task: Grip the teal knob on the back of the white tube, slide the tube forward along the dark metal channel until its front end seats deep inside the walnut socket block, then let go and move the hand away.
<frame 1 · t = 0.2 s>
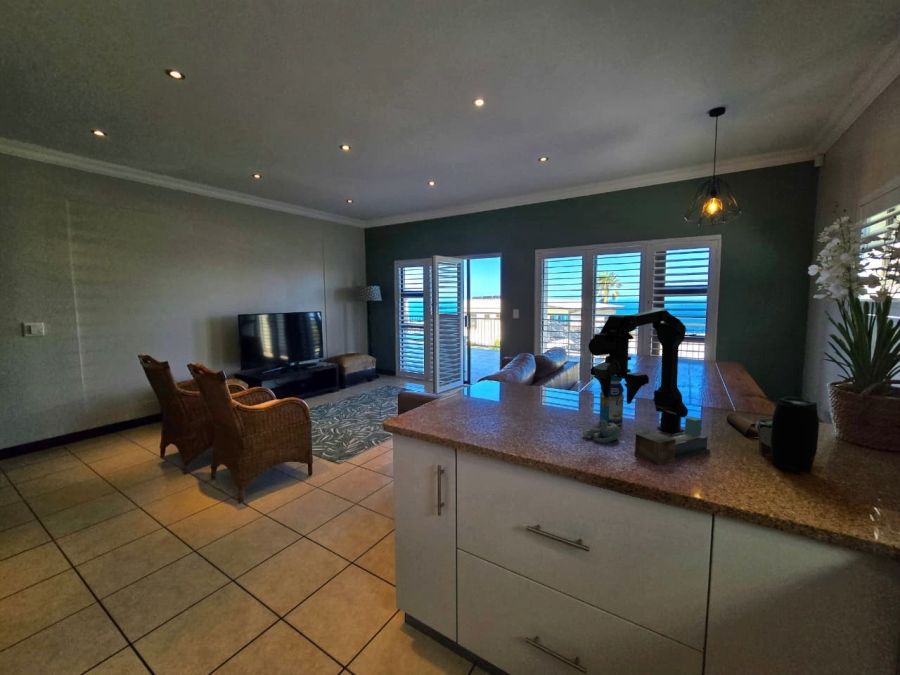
hand: (617, 400, 118), 14 cm above the counter, tool pointing down, fingers open, 9 cm apart
sleeve channel: (680, 451, 112), on the counter
portable speaker: (790, 469, 100), on the counter
sunglasses case: (748, 431, 131), on the counter
socket block: (654, 457, 108), on the counter
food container: (774, 453, 111), on the counter
beverage bottle: (610, 423, 140), on the counter
telescoping tube: (682, 433, 112), point 6 cm above the counter, slide at 0.0 cm
stuffed animal: (601, 439, 123), on the counter
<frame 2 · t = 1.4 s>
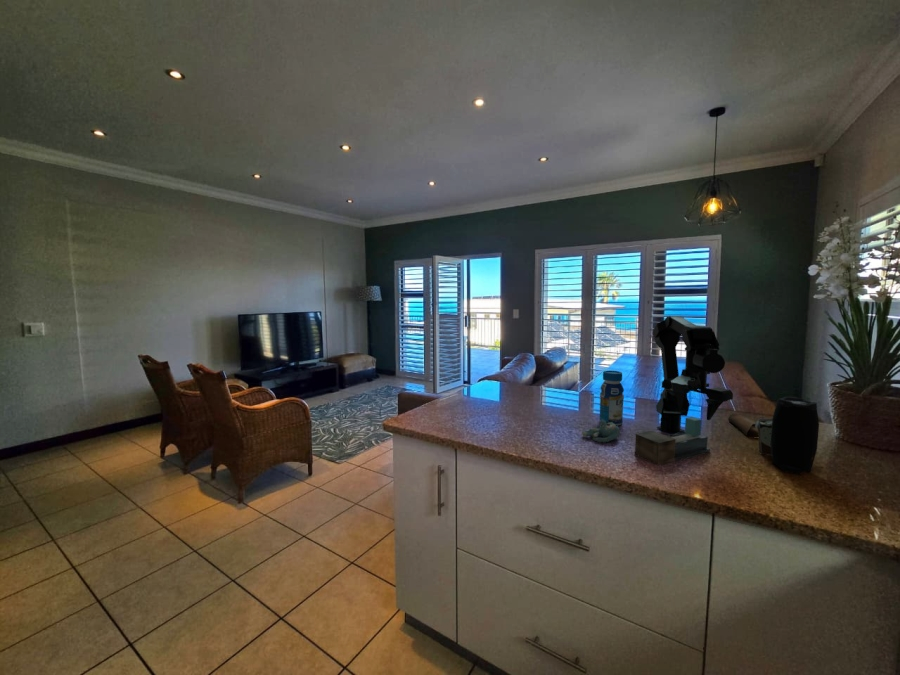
hand: (693, 415, 113), 11 cm above the counter, tool pointing down, fingers open, 9 cm apart
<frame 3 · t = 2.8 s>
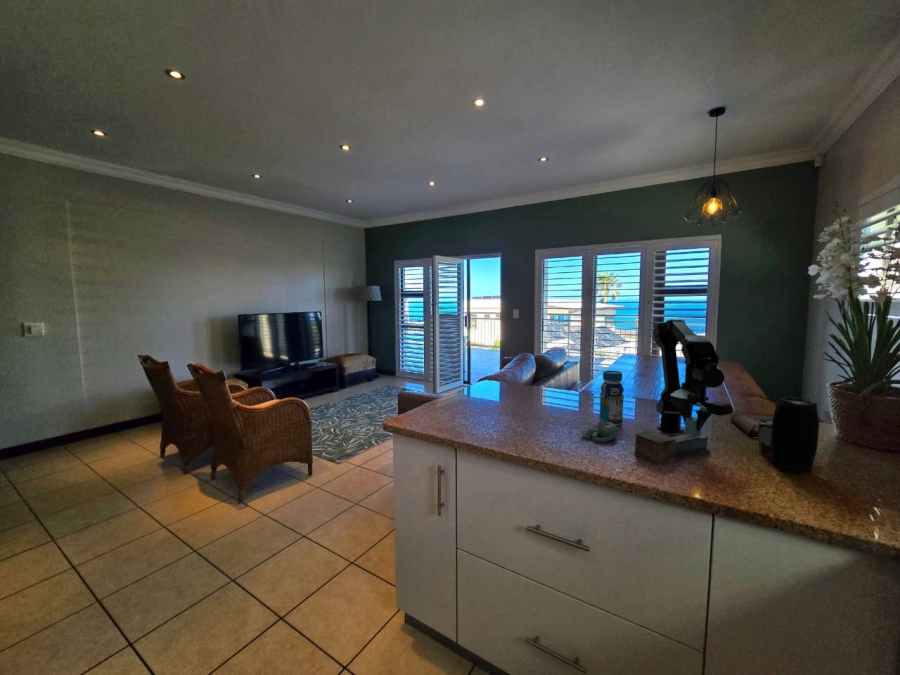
hand: (692, 428, 114), 7 cm above the counter, tool pointing down, fingers closed on telescoping tube, 3 cm apart
telescoping tube: (682, 433, 112), point 6 cm above the counter, slide at 0.0 cm, touching gripper
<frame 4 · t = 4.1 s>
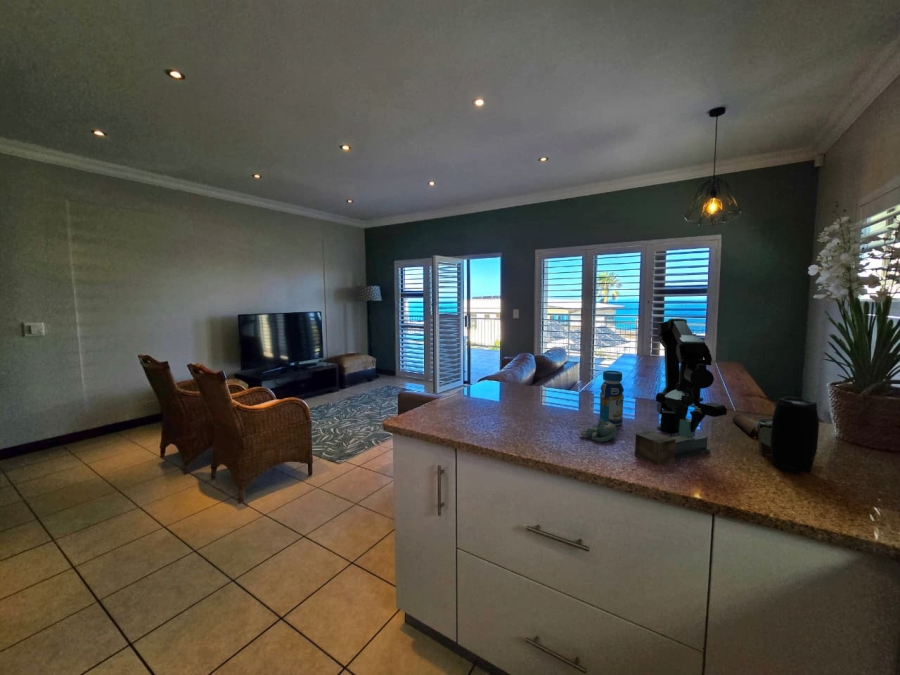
hand: (687, 430, 113), 7 cm above the counter, tool pointing down, fingers closed on telescoping tube, 3 cm apart
telescoping tube: (676, 435, 111), point 6 cm above the counter, slide at 2.7 cm, touching gripper
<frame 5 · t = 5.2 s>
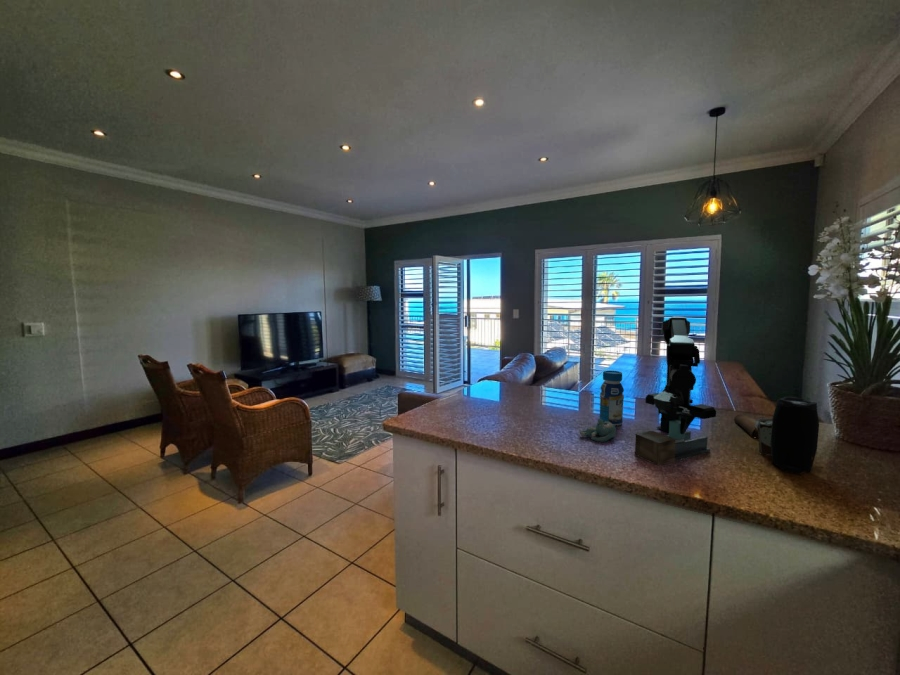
hand: (676, 432, 111), 7 cm above the counter, tool pointing down, fingers closed on telescoping tube, 3 cm apart
telescoping tube: (665, 437, 109), point 6 cm above the counter, slide at 7.5 cm, touching gripper
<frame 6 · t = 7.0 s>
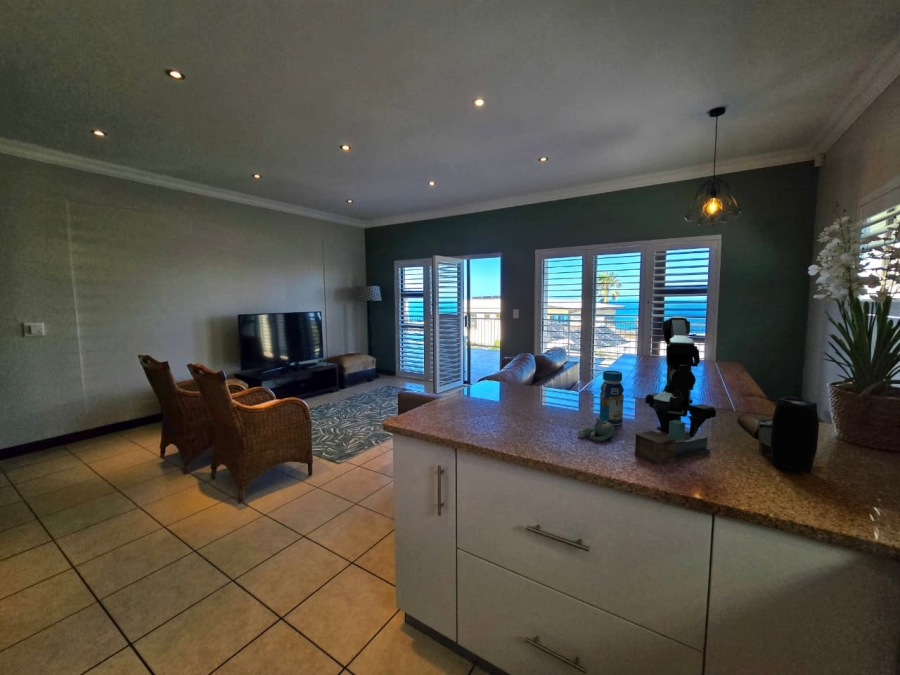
hand: (676, 432, 111), 7 cm above the counter, tool pointing down, fingers open, 9 cm apart
telescoping tube: (665, 437, 109), point 6 cm above the counter, slide at 7.5 cm
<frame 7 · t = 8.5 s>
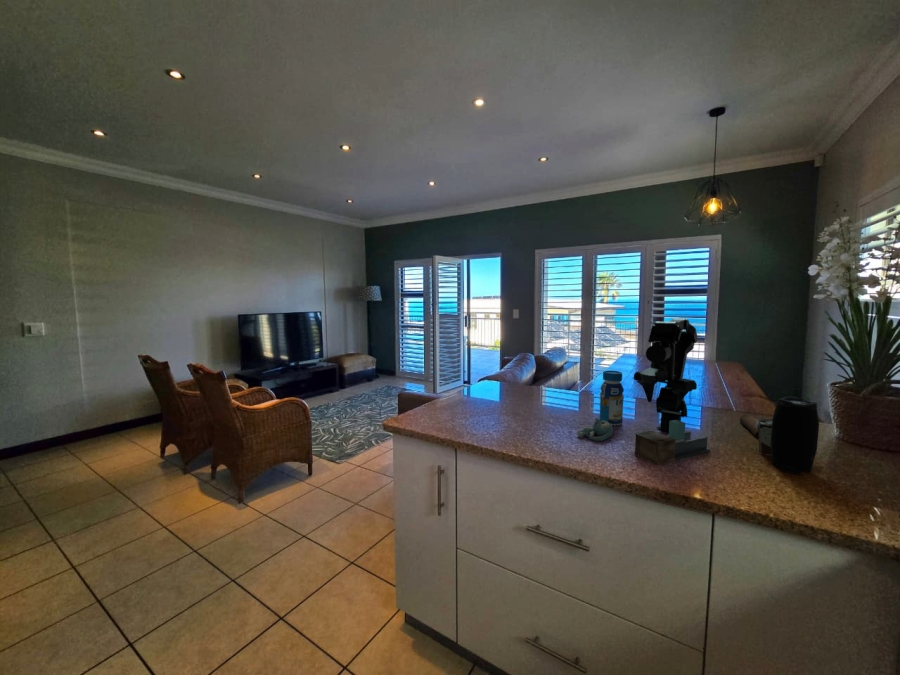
hand: (662, 405, 120), 12 cm above the counter, tool pointing down, fingers open, 9 cm apart
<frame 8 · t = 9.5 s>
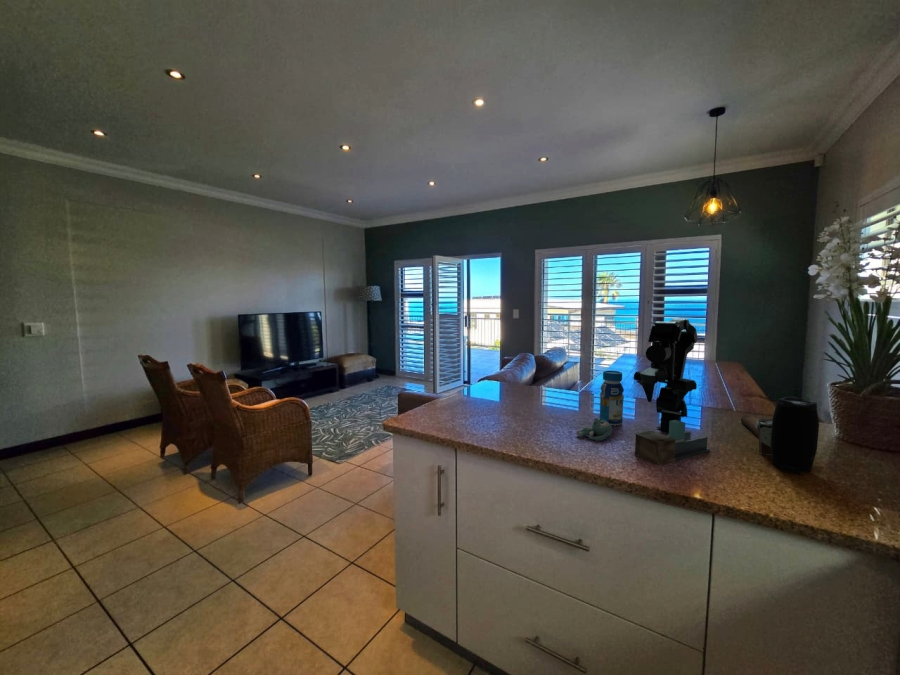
hand: (661, 405, 120), 12 cm above the counter, tool pointing down, fingers open, 9 cm apart
at the end: telescoping tube slide at 7.5 cm; the gripper is holding nothing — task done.
